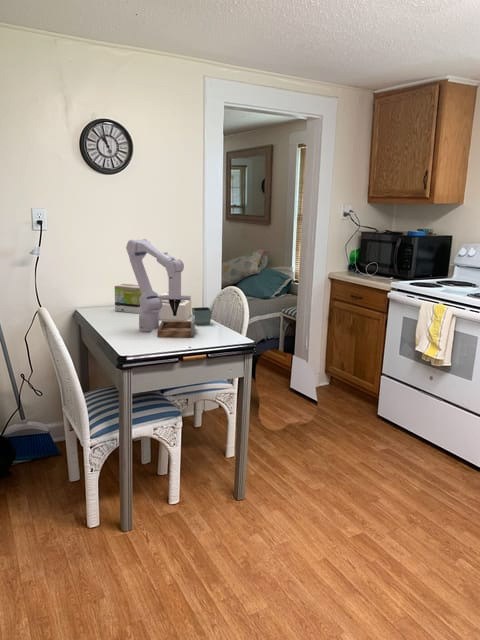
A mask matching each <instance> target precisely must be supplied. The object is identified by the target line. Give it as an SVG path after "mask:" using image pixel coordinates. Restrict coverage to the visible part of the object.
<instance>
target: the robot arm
mask: <svg viewBox="0 0 480 640" xmlns="http://www.w3.org/2000/svg"><path fill="white" fill-rule="evenodd" d="M125 248H126V252H127V255H128V258H129V263H130V265H131V267H132V271H133V273H134V276H135V279H136V282H137V285H139V288H140V290H141V293H142V295H141V296H140V298H139V301H140V308H141V310H142V311H143V312H140V313H138V331H139V332H152V331H153V329H157V328H159V326H160V320H159V311H160V309H161V308H162V300H169V304H170V306H171V309H172V312H173V316H176V315H177V309H178V306H179V304H180V302H181V300H188V301H191V302H192V299H191V298H192V296H191V295H184V294H182V273H183V271H184V268H185V264H184V262H183V260H181V259H176V258H175V257H174V256H171V255H170V254H169V253H168V252H167V251H160V250H159V249H158V248H157V247H155V246H154V245H153V244H152V243H151V241H149V240H147V239H146V238H144V239H130V240H128V241H127V244H126V246H125ZM147 254H149V255H151V256H152V257H153V258H156V262H157V263H158V264H160V265H161V266H162V267H164V268H165V270H166V272H167V273H166V274H167V277H168V289H169V295H160V294H158V293H157V292H155V291H154V290H153V288H152V285H151V282H150V278H149V277H148V274H147V271H146V268H145V266H144V262H143V259H144V258H145V257H146V255H147ZM181 294H182V295H181ZM183 295H184V296H183Z"/></svg>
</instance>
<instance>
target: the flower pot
mask: <svg viewBox="0 0 480 640" xmlns="http://www.w3.org/2000/svg"><path fill="white" fill-rule="evenodd" d="M212 314H213V310H212V309H211V308H210V307H207V306H205V307H191V316H192V315H195V320H196V324H195V326H207V325H208V326H209V325H210V323H211V321H212Z"/></svg>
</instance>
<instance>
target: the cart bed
mask: <svg viewBox="0 0 480 640" xmlns="http://www.w3.org/2000/svg"><path fill="white" fill-rule="evenodd" d="M195 331H196V329H195V330H194V332H195ZM156 333H157V335H156V336H157V337H156V338H164V339H165V338H167V339H168V338H170V339H171V338H174V339H176V338H177V339H178V338H179V339H184V338H185V339H193V338H195V337H194V336H195V335H194V336H191V321H187V320H186V321H168V320H161V322H160V323H159V328H158V329H157V331H156Z"/></svg>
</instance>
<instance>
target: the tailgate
mask: <svg viewBox="0 0 480 640" xmlns="http://www.w3.org/2000/svg"><path fill="white" fill-rule="evenodd" d="M194 330H195V331H196V320H195V315H192V314H191V336H195V331H194Z"/></svg>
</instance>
